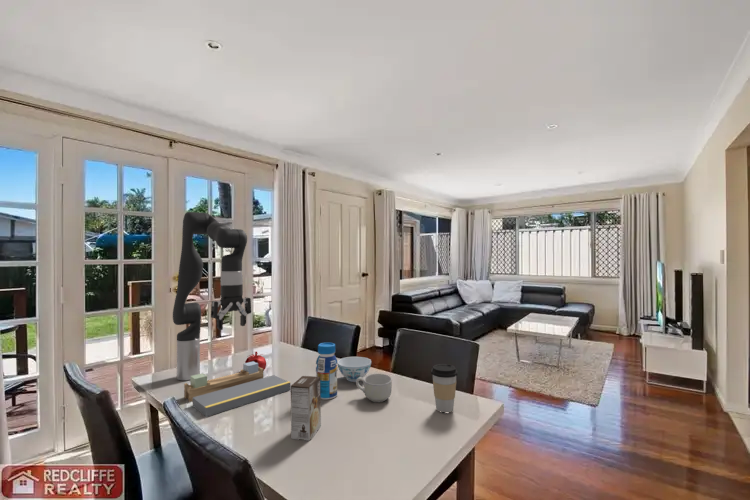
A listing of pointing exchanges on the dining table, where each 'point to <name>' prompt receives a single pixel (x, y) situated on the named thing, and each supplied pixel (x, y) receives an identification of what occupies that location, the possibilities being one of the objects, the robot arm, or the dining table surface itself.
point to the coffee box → (305, 407)
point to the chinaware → (354, 367)
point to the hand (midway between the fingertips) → (231, 327)
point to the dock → (239, 395)
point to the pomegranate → (257, 360)
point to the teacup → (376, 386)
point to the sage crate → (198, 380)
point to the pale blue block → (250, 367)
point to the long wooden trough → (222, 383)
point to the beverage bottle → (327, 370)
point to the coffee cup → (444, 386)
